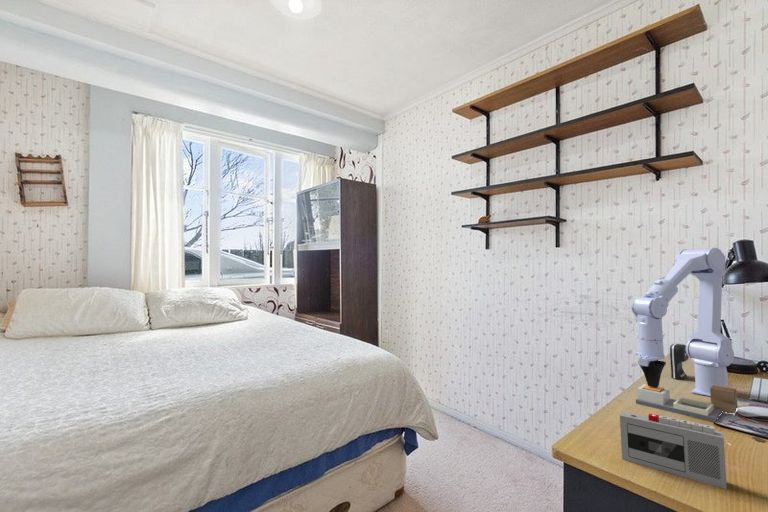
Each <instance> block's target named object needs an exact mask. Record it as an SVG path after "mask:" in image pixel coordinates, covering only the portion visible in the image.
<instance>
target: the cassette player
mask: <svg viewBox="0 0 768 512" xmlns="http://www.w3.org/2000/svg"><path fill="white" fill-rule="evenodd" d="M619 426H620V427H619V428H620V441H621V443H620V444H621V446H620V447H621V459H622V460H624V459H625V460H624V461H627V460H628V462H630V461H631V462H632V463H634V464H638V465H642V466H645V467H648V468H651V469H656V470H658V471H659V470H660V471H662V472H666V473H670V474H673V475H675V476H680V477H683V478H687V479H691V480H693V481H697V482H701V483H704V484H707V485H709V486H710V485H711V486H715V487H718V488H721V489H725V490H727V489H728V486H727V472H726V469H727V468H726V453H725V439H724V438H725V437H724V435H725V434H724V432H721V431H717V430H715V426H713V425H707V424H702V423H698V422H694V421H693V422H692V421H687V420H683V419H678V418H674V417H670V416H669V417H668V416H663V415H658V414H653V413H648V416H647V415H646V416H645V415H642V414H636V413H632V412H627V411H623V410H622V411H621V413H620V414H619Z"/></svg>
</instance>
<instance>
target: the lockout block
mask: <svg viewBox="0 0 768 512" xmlns="http://www.w3.org/2000/svg"><path fill="white" fill-rule="evenodd" d="M710 394H711V396H710V403H711V404H714V408H716V409H721V410H722V411H723V412H727V413H735V411H736V408H737V407H738V393H737V387H729V386H728V387H725V386H720V385H713V386H712V387H711V388H710ZM738 408H739V407H738Z"/></svg>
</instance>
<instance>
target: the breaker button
mask: <svg viewBox="0 0 768 512" xmlns="http://www.w3.org/2000/svg"><path fill="white" fill-rule="evenodd" d="M664 388H665V387H660V386H658V387H657V388H654V387H649V386H648V384H647V385H646V386H644V387H643V389H645V390H650V391H655V392H660V393H661V392H662V391H663V390H664Z"/></svg>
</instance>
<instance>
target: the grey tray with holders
mask: <svg viewBox="0 0 768 512" xmlns="http://www.w3.org/2000/svg"><path fill="white" fill-rule="evenodd" d="M646 385H648V384H647V383H643V384H642V385H640V386H639V387H637V391H636V392H637V398H636V399H635V403H636V404H637V405H641V406H642V405H643V406H646V407H651V408H654V409H658V410H663V411H667V412H671V413H676V414H679V415H684V416H687V417H691V418H695V419H696V418H697V419H699V420H704V421H709V422H713V423H716V422H717V421H718V420H717V418H718V417H719V415H720V414H721V413H722V410H721V409H716V408H714V404H711V402H705V401H700V400H696V399H692V398H686V397H682V396H680V397H678V398H677V399H673V398H671V396H670V388H666V387H663V388H664V390H663V391H662V392H661V393H660V392H655V391H650V390H645V389H643V387H644V386H646ZM722 414H723V413H722ZM719 418H720V417H719ZM719 418H718V419H719ZM716 420H717V421H716ZM715 421H716V422H715Z"/></svg>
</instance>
